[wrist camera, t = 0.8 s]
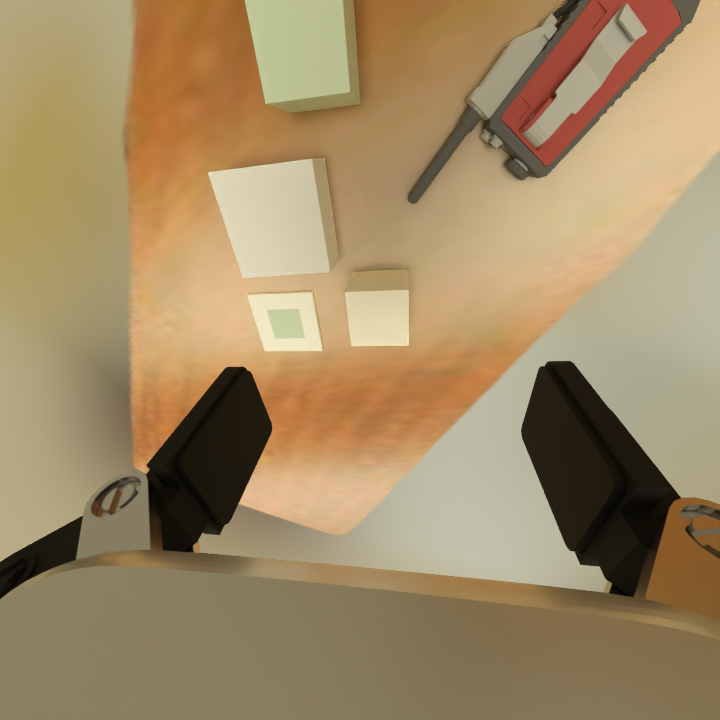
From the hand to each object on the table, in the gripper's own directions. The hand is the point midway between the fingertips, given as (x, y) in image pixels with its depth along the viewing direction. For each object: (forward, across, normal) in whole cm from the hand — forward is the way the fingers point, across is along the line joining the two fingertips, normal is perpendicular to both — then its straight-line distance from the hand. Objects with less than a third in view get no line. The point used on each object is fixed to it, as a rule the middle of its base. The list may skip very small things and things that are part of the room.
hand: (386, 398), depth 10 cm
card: (+24, +14, +10) cm, 30 cm away
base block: (+25, +11, -2) cm, 27 cm away
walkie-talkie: (+25, -10, -8) cm, 29 cm away
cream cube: (+25, +2, +7) cm, 26 cm away
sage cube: (+25, +6, -13) cm, 29 cm away
